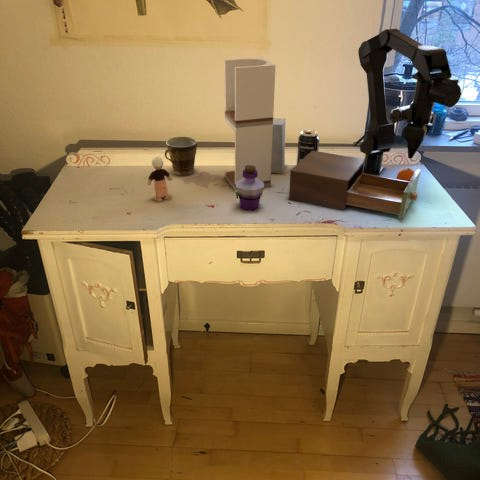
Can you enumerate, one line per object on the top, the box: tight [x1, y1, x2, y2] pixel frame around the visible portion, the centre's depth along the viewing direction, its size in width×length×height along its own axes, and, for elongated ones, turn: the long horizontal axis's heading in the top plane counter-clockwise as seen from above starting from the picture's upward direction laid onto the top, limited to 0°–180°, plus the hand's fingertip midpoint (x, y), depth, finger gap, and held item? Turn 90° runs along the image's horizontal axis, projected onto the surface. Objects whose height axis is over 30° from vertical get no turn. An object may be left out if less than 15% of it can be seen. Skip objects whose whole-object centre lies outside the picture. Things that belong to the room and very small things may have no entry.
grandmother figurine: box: [146, 156, 173, 202], centre depth 154 cm, size 8×4×13 cm, turn 134°
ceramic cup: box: [164, 136, 198, 176], centre depth 171 cm, size 13×10×10 cm
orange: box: [395, 167, 415, 182], centre depth 163 cm, size 6×6×6 cm
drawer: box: [345, 168, 421, 219], centre depth 153 cm, size 18×18×8 cm
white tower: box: [223, 57, 276, 192], centre depth 157 cm, size 11×11×35 cm
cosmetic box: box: [271, 117, 287, 175], centre depth 172 cm, size 8×7×16 cm
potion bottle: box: [235, 165, 265, 212], centre depth 150 cm, size 9×9×12 cm
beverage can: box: [296, 129, 320, 165], centre depth 174 cm, size 7×7×12 cm
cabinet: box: [288, 150, 365, 211], centre depth 159 cm, size 19×17×9 cm
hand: (413, 153), depth 158 cm, fingers open, 9 cm apart
